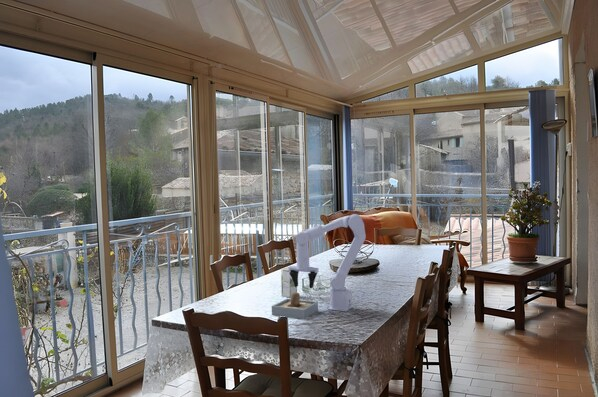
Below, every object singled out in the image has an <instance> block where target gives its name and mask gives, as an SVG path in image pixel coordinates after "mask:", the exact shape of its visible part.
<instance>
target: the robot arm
mask: <svg viewBox="0 0 598 397" xmlns="http://www.w3.org/2000/svg"><path fill="white" fill-rule="evenodd" d="M341 227H343V228H348V227H349V229H351V231H352V232H353V235H354V237H353V240H352V241H351V244H350V246H349V248H348V250H347V251H346V253H345V255H344V257H343V259H342V261H341V263H340V265H339V267H338V268H337V270H336V272H334V274H332V275H331V278H330V279H331V281H330V288H329V293H330V296H329V300H330V306H328V307H327V308H326V309H327V310H331V311H339V312H348V311H349V310H351V309H353V294H352V290H350V289H349V290H348V289H347V287H346V286H345V285H346V279H347V277H348V275H349V271H350V270H351V268H352V266H353V265H354V262H355V260H356V258H357V256H358V255H359V252H360V251H361V248H362V246H363V244H364V242H365V241H366V237H367V236H366V228H365V223H364V221H363V219H362V217H361V215H359V214H357V213H351V215H345V216H343V217H340V218H338V219H335V220H333V221H331V222H329V223H327V224H325V225H321V224H314V225H313V227H309V228H307V229H306V228H304V229H303V231H300V232H298V233H297V234H296V235H295V242H296V266H294V265H292V266H291V265H290V266H287V267H288V271H291V272H290V275H291V277H292V279H293V282H294V286H295V287H297V288H298V286H299V273H300V272H303V273H304V272H305V273H307V276H308V280H309V281H308V282H309V283H308V284H309V289H313V288H314V283H315V280H316V277H317V275H318V274H319V273H320V272H319V267H314V266H313V267H312V266H310V247H309V242H313V241H315V240H317V239H320V238H323V237H324V236H325V233H328V232H330V231H332V230H337V229H339V228H341Z"/></svg>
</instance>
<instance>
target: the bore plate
mask: <svg viewBox="0 0 598 397" xmlns="http://www.w3.org/2000/svg"><path fill="white" fill-rule="evenodd" d="M310 305H311V303H302V302H300V307H298V309H304V308H306V307H308V306H310ZM281 307H289V308H297V307H291V301H290V302H287V303H285V304H283V305H281Z"/></svg>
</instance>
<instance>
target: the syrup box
mask: <svg viewBox="0 0 598 397" xmlns="http://www.w3.org/2000/svg"><path fill="white" fill-rule="evenodd" d="M288 267H289V266H287V267H283V268H282V267H281V269H280V270H281V271H280V272H281V275H280V276H281V278H280V279H281V297H282V298H283V297H284V298H288V299H291V293H298V286H297V287H295V286H294V282H293V279H292V277H291V275H290V272H291V271H288Z"/></svg>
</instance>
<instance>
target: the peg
mask: <svg viewBox="0 0 598 397" xmlns="http://www.w3.org/2000/svg"><path fill="white" fill-rule="evenodd" d="M290 299H291V307H297V308H298V307H300V300H301V299H300V292H297V293H291V298H290Z"/></svg>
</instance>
